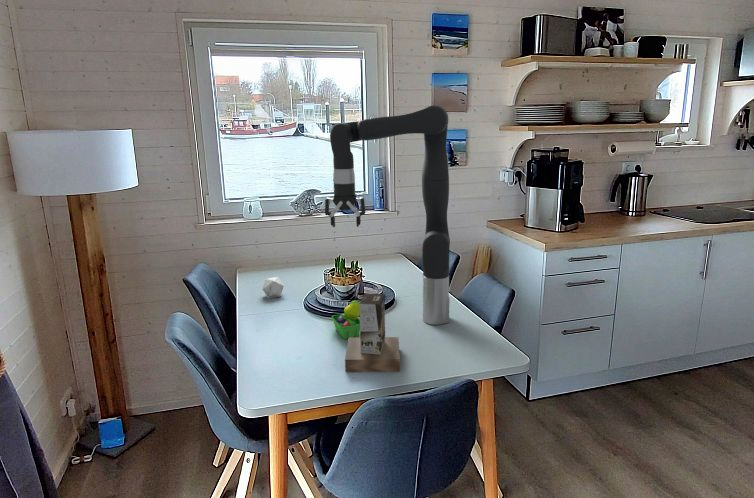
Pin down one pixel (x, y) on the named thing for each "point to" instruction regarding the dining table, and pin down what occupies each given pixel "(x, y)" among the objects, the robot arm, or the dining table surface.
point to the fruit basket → (348, 321)
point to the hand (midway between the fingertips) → (345, 226)
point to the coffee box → (372, 323)
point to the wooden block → (373, 357)
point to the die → (273, 287)
